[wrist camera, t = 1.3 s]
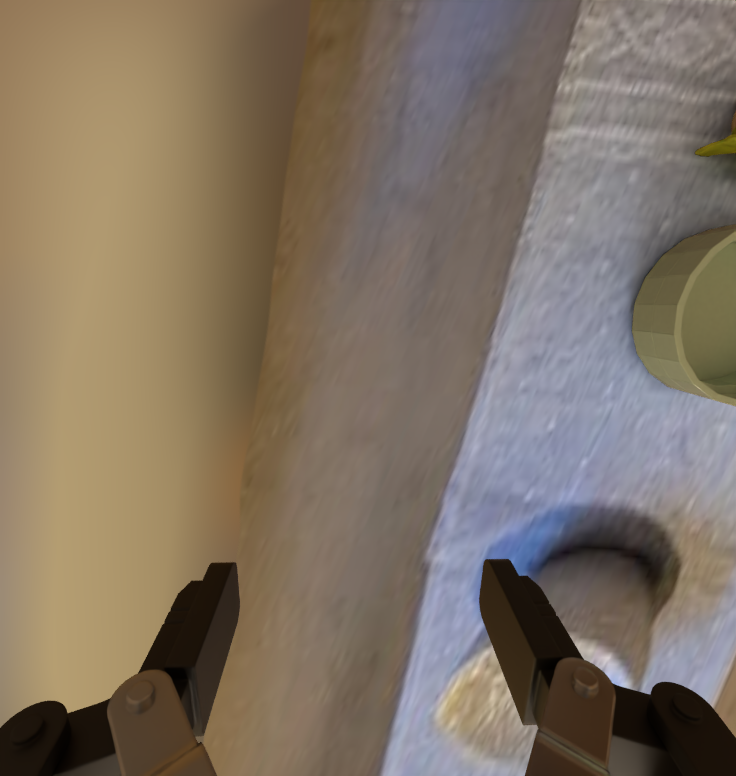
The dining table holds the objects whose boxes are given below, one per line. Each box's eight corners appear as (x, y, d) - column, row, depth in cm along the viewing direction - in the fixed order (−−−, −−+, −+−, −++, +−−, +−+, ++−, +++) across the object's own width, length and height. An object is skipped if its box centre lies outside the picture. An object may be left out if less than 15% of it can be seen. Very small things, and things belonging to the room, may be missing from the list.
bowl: (668, 208, 38) (725, 191, 32) (815, 256, 39) (897, 249, 33) (603, 368, 41) (645, 379, 35) (742, 408, 42) (805, 426, 36)
